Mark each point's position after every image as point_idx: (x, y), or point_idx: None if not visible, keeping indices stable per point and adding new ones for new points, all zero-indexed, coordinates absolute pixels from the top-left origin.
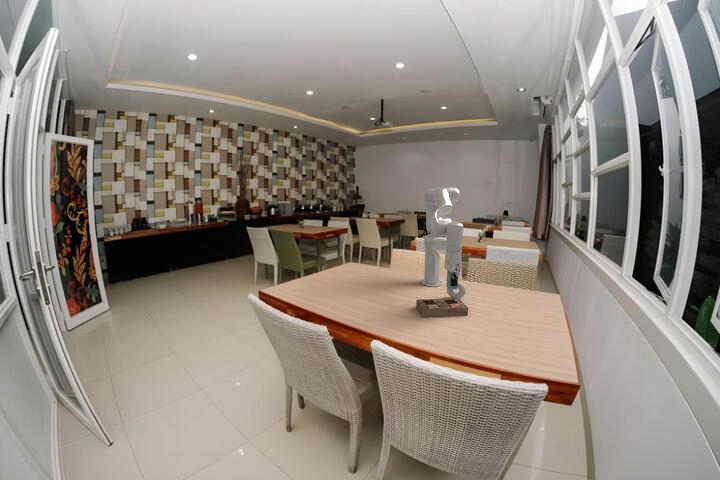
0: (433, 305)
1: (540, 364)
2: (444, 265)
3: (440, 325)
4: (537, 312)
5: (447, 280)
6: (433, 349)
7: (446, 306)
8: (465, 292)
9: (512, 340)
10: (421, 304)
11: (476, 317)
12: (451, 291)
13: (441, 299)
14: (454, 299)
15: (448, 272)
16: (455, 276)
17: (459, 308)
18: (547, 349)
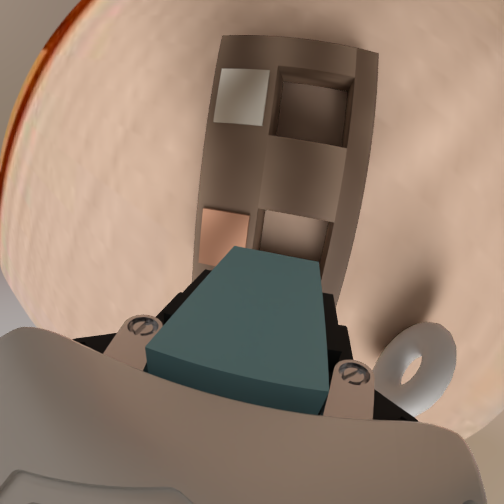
0: (251, 101)
1: (14, 262)
2: (464, 473)
3: (145, 104)
4: None
5: (293, 292)
6: (58, 58)
7: (226, 181)
8: None
9: (60, 285)
10: (293, 45)
11: None
12: (420, 342)
13: (344, 213)
14: None
15: (245, 377)
16: (82, 341)
17: (195, 246)
18: (46, 319)
